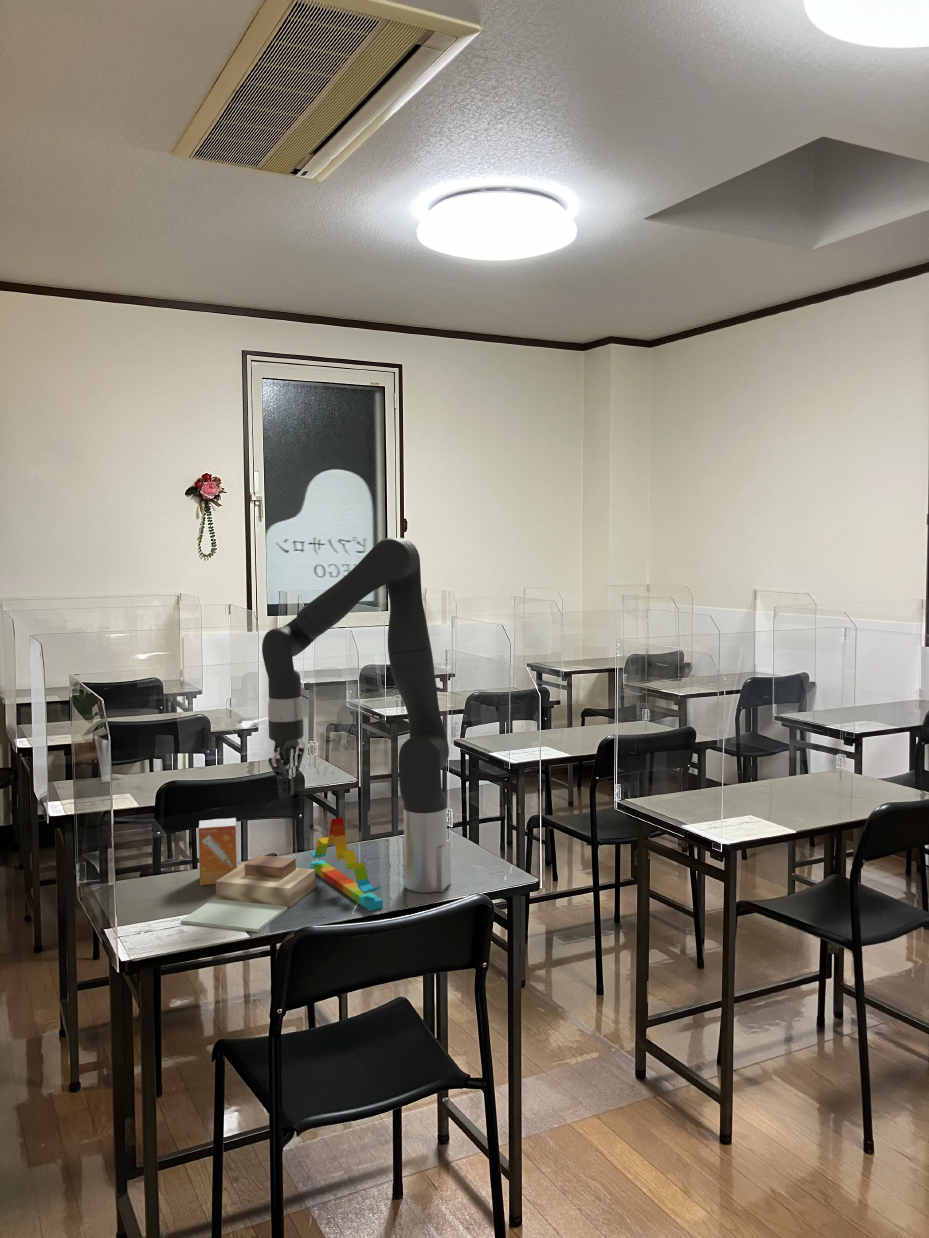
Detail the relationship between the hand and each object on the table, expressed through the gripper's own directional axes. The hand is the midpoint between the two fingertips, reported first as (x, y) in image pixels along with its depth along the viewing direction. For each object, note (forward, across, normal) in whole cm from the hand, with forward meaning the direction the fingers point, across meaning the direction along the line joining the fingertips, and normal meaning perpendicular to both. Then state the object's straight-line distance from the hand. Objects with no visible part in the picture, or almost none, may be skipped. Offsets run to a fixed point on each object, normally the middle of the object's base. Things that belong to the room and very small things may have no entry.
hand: (288, 794), depth 219 cm
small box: (+19, -6, +14) cm, 25 cm away
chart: (+19, -3, -15) cm, 24 cm away
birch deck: (+19, -11, 0) cm, 22 cm away
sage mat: (+19, -24, 0) cm, 30 cm away
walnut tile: (+14, -9, 0) cm, 16 cm away
